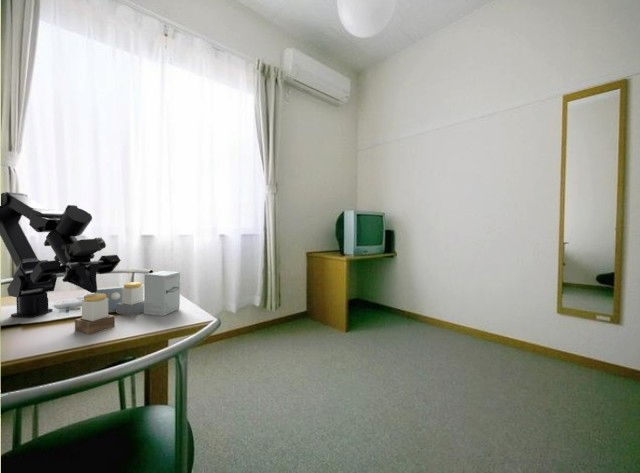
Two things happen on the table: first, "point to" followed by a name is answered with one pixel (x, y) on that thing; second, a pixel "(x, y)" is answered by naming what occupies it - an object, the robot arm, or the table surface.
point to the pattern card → (112, 296)
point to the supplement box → (161, 292)
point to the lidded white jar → (94, 307)
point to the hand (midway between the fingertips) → (94, 291)
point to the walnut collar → (94, 325)
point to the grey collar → (130, 308)
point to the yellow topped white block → (132, 293)
